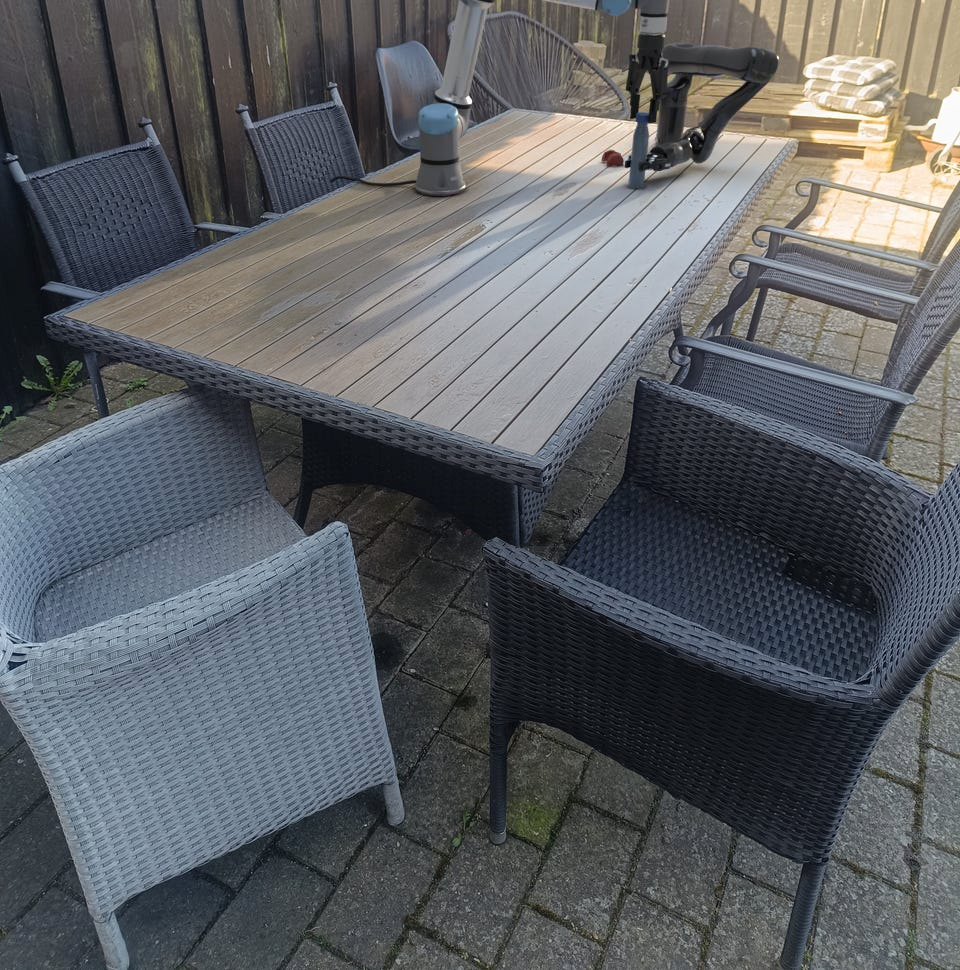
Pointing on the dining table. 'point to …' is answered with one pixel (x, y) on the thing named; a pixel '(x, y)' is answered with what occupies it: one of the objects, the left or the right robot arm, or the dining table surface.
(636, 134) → the bottle
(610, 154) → the dental model
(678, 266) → the dining table surface
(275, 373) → the dining table surface
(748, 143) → the dining table surface
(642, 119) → the cap
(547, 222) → the dining table surface
